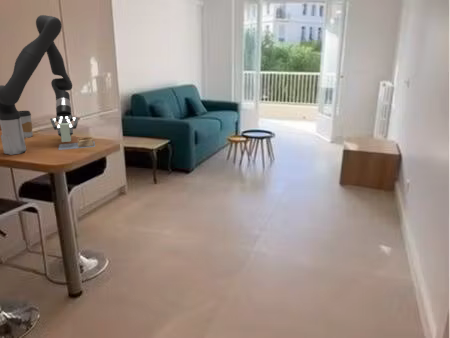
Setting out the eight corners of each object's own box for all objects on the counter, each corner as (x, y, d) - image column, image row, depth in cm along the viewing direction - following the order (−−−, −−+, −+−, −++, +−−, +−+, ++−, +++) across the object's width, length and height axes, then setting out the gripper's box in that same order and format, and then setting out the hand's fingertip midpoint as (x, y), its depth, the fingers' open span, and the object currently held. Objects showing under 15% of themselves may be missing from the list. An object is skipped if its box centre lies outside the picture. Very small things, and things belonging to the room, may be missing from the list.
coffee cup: (29, 134, 227) (25, 110, 222) (37, 136, 223) (33, 111, 218) (16, 137, 220) (11, 112, 215) (24, 138, 216) (19, 113, 211)
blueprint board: (58, 151, 190) (58, 149, 189) (59, 145, 200) (59, 144, 200) (95, 148, 195) (95, 146, 195) (94, 142, 206) (94, 141, 206)
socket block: (78, 147, 194) (77, 141, 193) (78, 143, 201) (77, 138, 200) (93, 145, 197) (93, 139, 196) (93, 142, 204) (92, 136, 203)
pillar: (61, 142, 192) (59, 124, 189) (62, 140, 196) (59, 123, 194) (71, 141, 194) (68, 124, 191) (71, 139, 198) (69, 122, 195)
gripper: (48, 104, 194) (49, 132, 187) (77, 103, 198) (79, 130, 191) (50, 113, 200) (51, 140, 193) (78, 112, 205) (80, 138, 198)
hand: (65, 134), depth 192 cm, fingers closed on pillar, 4 cm apart
